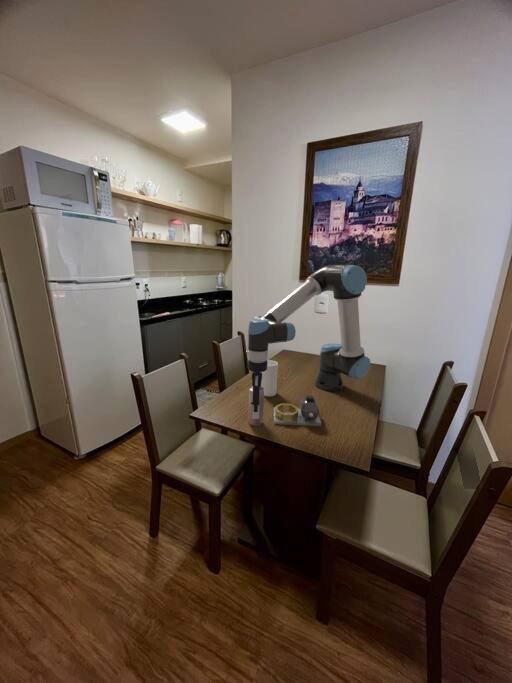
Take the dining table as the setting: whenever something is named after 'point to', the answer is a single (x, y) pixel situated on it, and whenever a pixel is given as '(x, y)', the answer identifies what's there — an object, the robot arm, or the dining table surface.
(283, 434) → the dining table surface
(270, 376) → the cup
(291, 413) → the motor unit
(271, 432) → the dining table surface
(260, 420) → the beverage can
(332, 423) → the dining table surface
